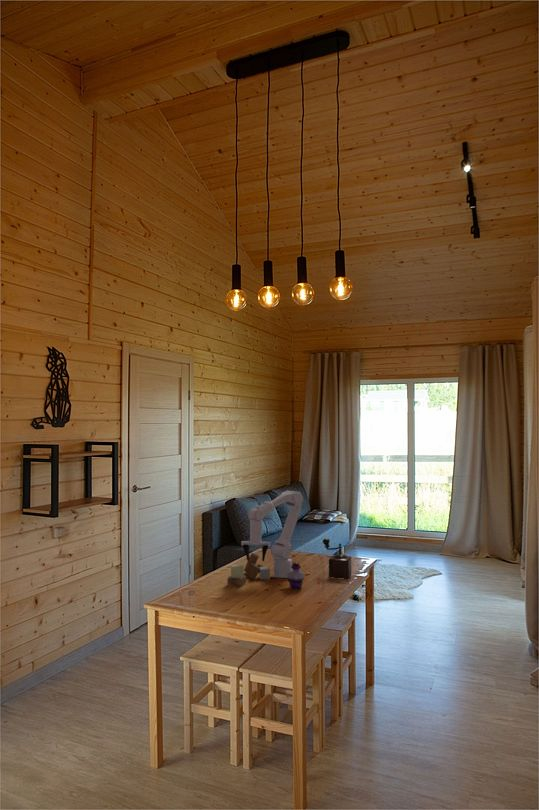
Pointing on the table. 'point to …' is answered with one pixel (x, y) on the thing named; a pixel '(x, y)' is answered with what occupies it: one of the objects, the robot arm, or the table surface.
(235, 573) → the sage cube
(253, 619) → the table surface
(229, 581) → the walnut base
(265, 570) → the slate cube
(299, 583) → the potion bottle
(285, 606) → the table surface
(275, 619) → the table surface
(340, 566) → the manual coffee grinder
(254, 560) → the wooden block set
